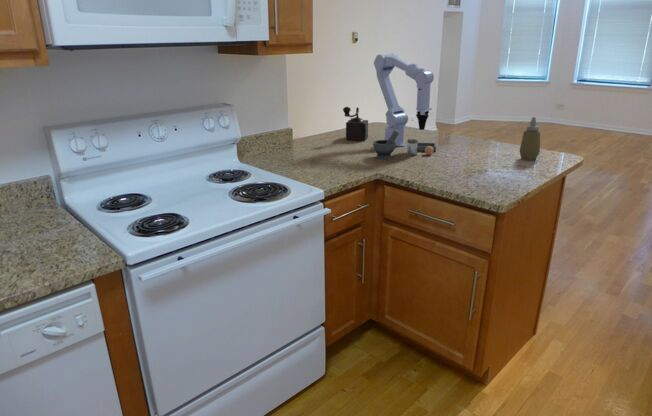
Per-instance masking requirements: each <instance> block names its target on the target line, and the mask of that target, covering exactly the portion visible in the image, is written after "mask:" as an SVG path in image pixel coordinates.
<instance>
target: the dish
mask: <svg viewBox="0 0 652 416" xmlns="http://www.w3.org/2000/svg"><path fill="white" fill-rule="evenodd" d="M427 146H431V147H433V149H434V151H433V153H435V152H436V150H437V143H436V142H418V143H417V152H423V151H425V148H426V147H427Z"/></svg>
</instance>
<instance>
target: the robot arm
mask: <svg viewBox="0 0 652 416" xmlns="http://www.w3.org/2000/svg"><path fill="white" fill-rule="evenodd" d="M398 56H399V55H397V54H394V53H389V54H388V53H387V54H377V55H376V57H375V59H374V61H373V65H374V69H375V71H376V78H377V81H378V84H379V87H380V90H381V92H382V96H383V98H384V101H385V102H384V103H385V104H386V108H387V111H386V113H385V119H386V120H385V121H386V125H387V126H385V131H384V140H388V139H389V138H390V137H391V135H392V134H393V131H396V132H398V133H399V135H398V136H397V137H396V139H395V141H394V142H395V147H405V144H406V142H405V127H406V125H407V124H408V122H409V117H408V114H407V113H406V112H405V109H404V108H403V107H401V106H400V105H399V102H398V99H397V96H396V94H395V91H394V87H393V84H392V82H391V79H390V74H391V73H392V71H393V70H394V68H395V67H396V68H398V69H400V70H402V71H404V72H405V76H407V77H409V78H410V79H413V80H414V81H415V84H416V89H417V90H416V91H417V92H416V108H415V110H416V115H415V116H416V118H417V121H418V129H419V130H420V131H423V130H424V131H425V128H426V123H427V120H428V118H429V116H430V115H429V112H430V111H432V109H433V108H432V107H430V104H431V103H430V102H431V101H430V99H431V87H432V86H431V85H432V83H433V81H434V78H435V75H434V73H433V72H432V71H431V70H429V69H428V70H425V68H423V67H419V66H418V64H417V63H408V62H406V61H404V60H403V59H402V58H400V57H398Z"/></svg>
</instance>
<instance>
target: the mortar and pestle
mask: <svg viewBox="0 0 652 416" xmlns="http://www.w3.org/2000/svg"><path fill="white" fill-rule="evenodd" d="M398 135H399V133H398V132H396V131H393V134H392V135H391V137H390V138H389V139H388V140H385V139H379V140H374V141H373V144H372V145H373V150H374V151H375V153H376V154H377V155H376V158H377V159H380V160H387V159H388V158H389V159H391V158H390V157H392V154H393V152H394V151H395V149H396V146H395V142H394V141H395V139H396V137H397V136H398Z"/></svg>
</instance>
